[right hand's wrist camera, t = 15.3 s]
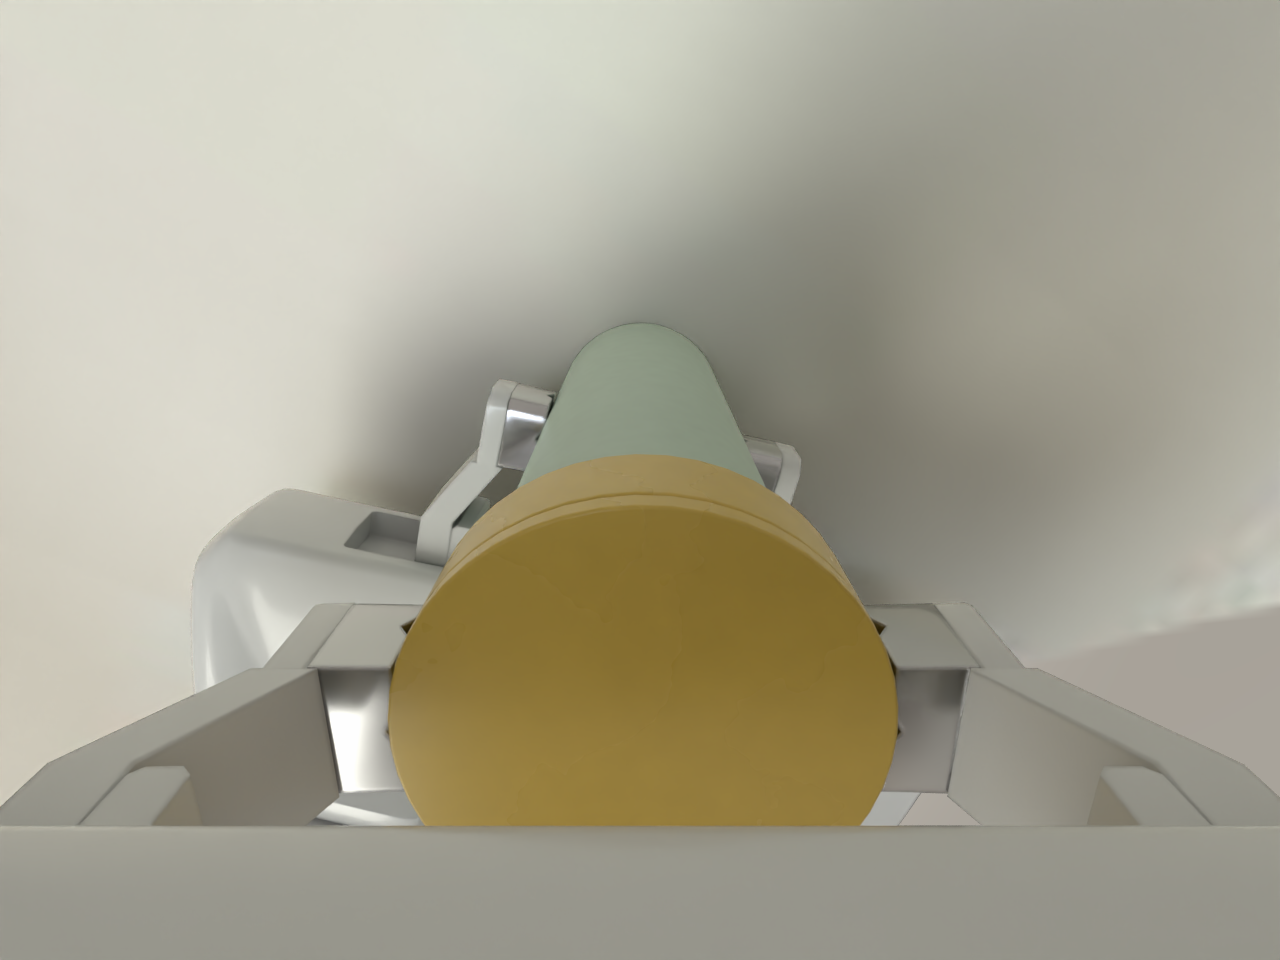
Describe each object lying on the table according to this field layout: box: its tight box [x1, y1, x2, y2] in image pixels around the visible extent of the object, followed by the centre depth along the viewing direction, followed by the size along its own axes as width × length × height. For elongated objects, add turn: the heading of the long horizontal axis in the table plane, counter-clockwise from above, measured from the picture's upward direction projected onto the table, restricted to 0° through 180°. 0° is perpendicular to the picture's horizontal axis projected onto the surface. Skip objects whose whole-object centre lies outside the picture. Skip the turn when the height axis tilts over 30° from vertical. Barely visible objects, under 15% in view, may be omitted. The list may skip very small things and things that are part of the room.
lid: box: [388, 454, 898, 826], centre depth 9 cm, size 6×6×2 cm
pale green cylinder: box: [517, 323, 765, 489], centre depth 16 cm, size 5×5×16 cm
